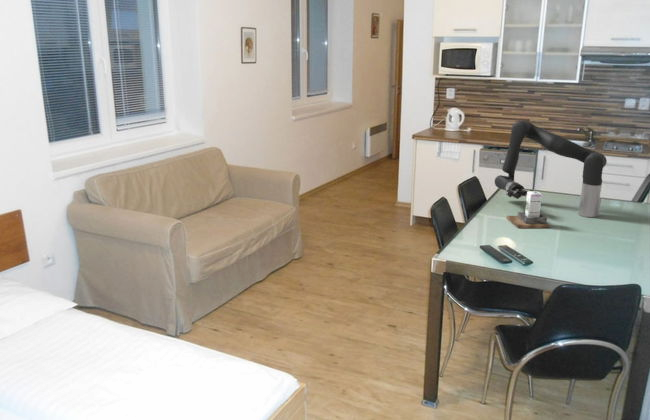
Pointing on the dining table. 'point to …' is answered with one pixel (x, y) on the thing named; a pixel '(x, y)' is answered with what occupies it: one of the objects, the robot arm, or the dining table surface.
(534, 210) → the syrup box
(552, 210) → the dining table surface
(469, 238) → the dining table surface
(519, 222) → the jig
